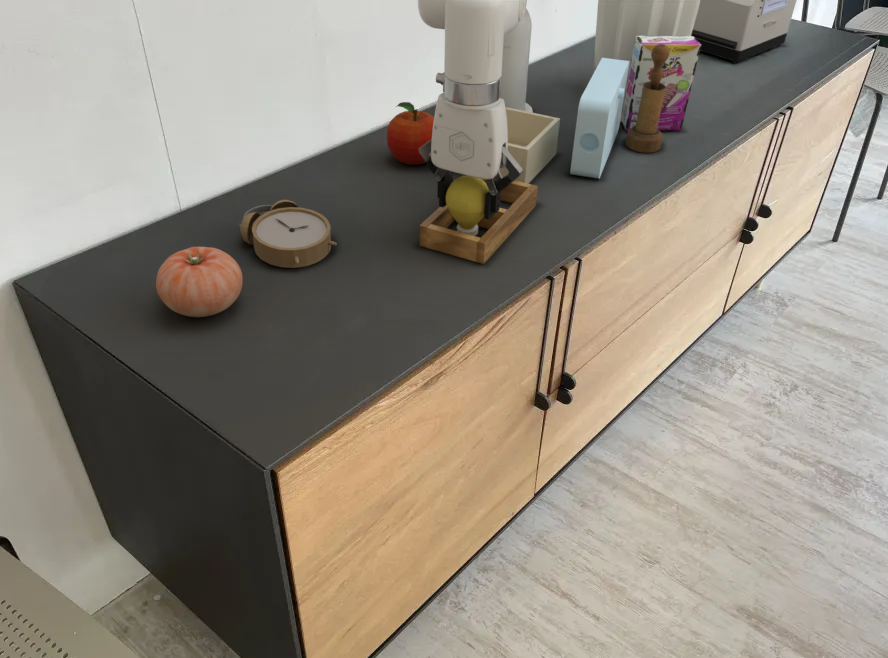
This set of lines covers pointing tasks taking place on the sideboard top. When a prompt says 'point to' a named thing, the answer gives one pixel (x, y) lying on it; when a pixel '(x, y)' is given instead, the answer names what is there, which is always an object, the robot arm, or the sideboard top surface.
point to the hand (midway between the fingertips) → (468, 208)
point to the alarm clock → (287, 234)
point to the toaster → (741, 26)
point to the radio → (599, 117)
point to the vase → (639, 24)
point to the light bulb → (467, 202)
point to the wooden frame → (498, 225)
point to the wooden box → (531, 141)
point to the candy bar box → (674, 78)
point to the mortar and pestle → (650, 107)
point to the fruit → (409, 134)
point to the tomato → (199, 281)
